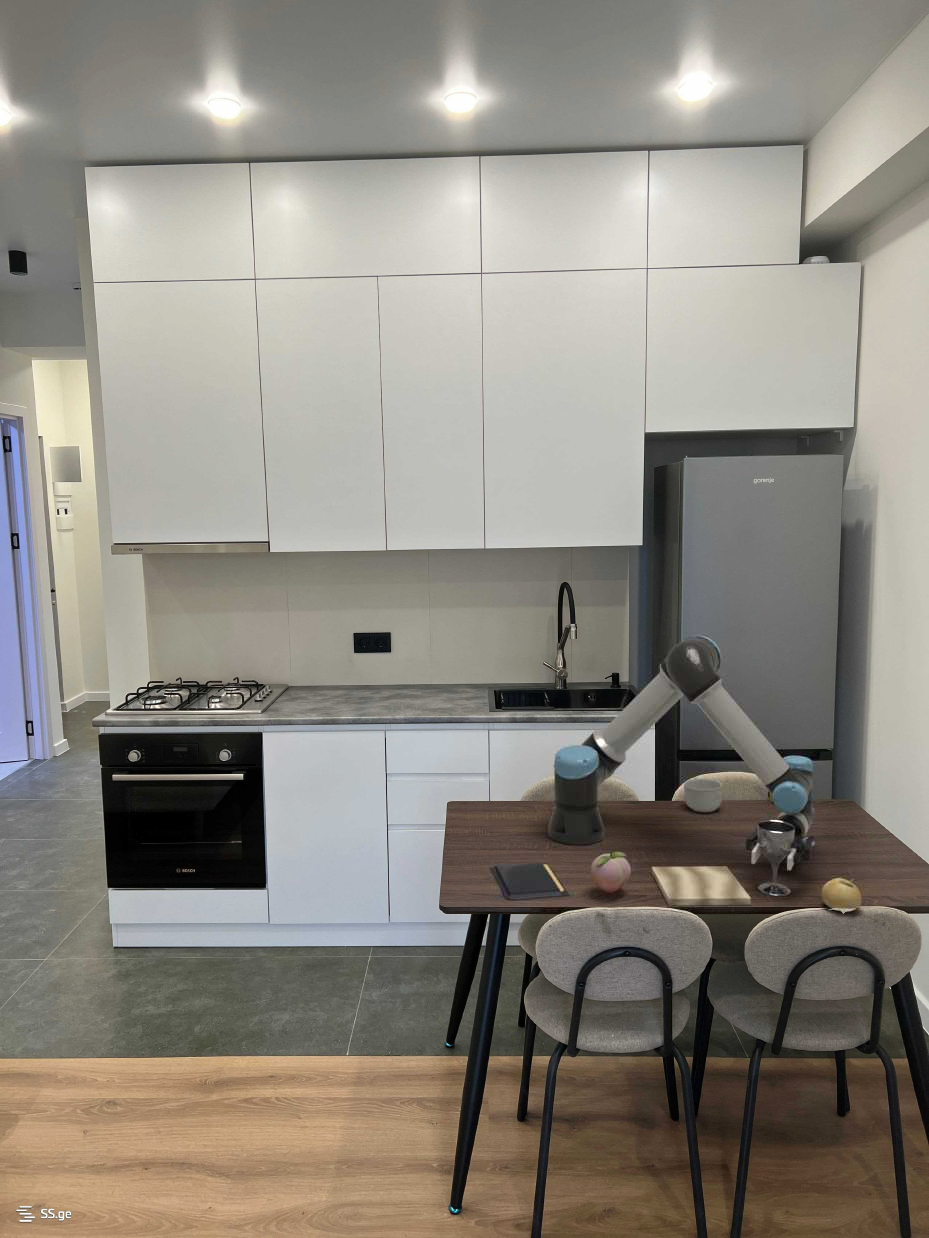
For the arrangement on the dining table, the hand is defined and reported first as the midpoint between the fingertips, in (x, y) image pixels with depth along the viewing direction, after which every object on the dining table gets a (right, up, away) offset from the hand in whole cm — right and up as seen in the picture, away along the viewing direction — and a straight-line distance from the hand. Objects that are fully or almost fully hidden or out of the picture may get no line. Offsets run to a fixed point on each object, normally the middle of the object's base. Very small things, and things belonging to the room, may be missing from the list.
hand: (770, 860), depth 194 cm
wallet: (-54, -9, +11) cm, 55 cm away
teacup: (+2, -2, +63) cm, 63 cm away
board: (-14, -8, +6) cm, 18 cm away
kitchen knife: (+24, -1, +71) cm, 75 cm away
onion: (+14, -9, -5) cm, 17 cm away
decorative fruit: (-35, -9, +4) cm, 37 cm away
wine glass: (+3, -8, +5) cm, 10 cm away
